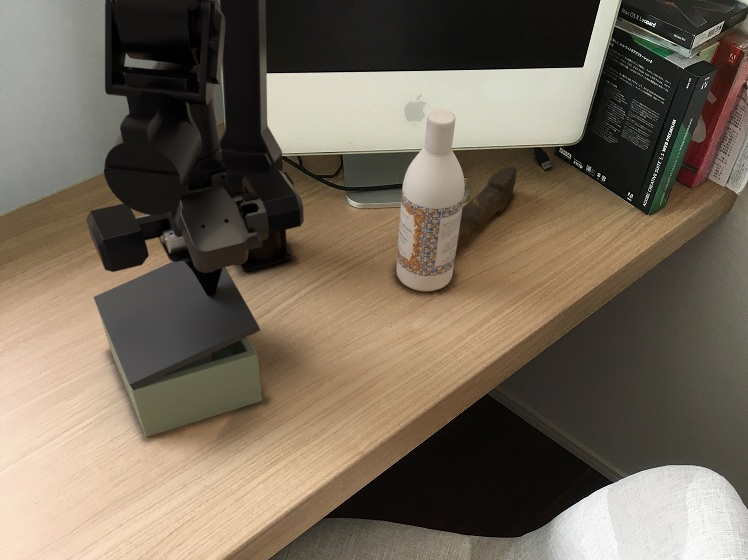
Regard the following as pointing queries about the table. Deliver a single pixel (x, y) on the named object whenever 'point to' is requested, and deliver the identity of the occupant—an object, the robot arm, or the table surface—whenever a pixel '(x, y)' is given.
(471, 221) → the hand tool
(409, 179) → the bath foam
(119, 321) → the box lid
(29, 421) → the table surface
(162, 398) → the open box
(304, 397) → the table surface
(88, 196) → the table surface
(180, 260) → the robot arm
